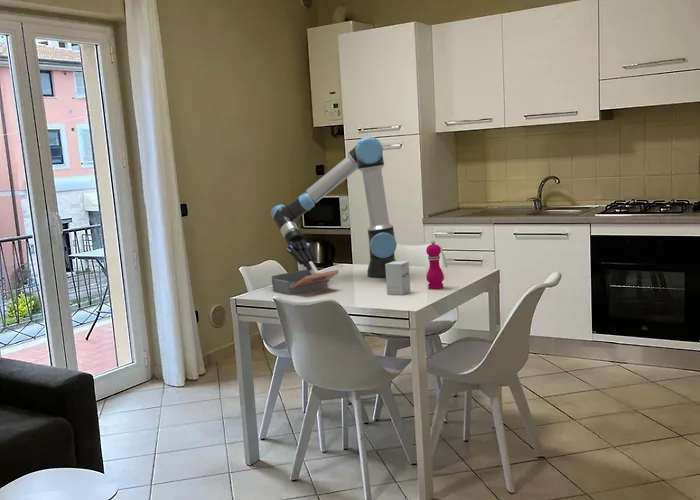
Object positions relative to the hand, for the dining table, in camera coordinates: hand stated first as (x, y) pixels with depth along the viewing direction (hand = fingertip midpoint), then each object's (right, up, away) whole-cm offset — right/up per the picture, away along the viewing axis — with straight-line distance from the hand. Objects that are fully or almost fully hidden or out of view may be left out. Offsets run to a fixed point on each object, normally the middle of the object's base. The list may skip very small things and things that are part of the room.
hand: (316, 274), depth 300 cm
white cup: (-6, -4, +34) cm, 35 cm away
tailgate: (-4, -4, +6) cm, 8 cm away
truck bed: (-7, -7, +12) cm, 15 cm away
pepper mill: (+50, -5, -9) cm, 51 cm away
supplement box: (+34, -7, -13) cm, 37 cm away
